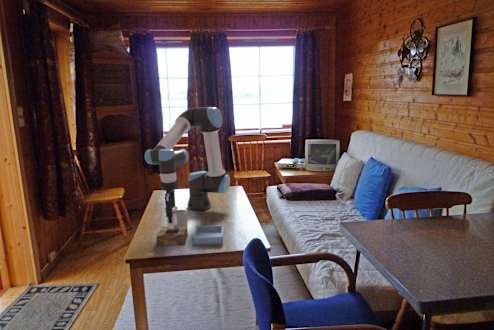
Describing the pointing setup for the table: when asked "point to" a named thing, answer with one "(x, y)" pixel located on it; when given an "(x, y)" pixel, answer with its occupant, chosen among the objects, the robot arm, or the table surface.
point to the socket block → (172, 237)
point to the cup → (182, 218)
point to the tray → (208, 235)
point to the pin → (174, 210)
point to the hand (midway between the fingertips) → (172, 226)
